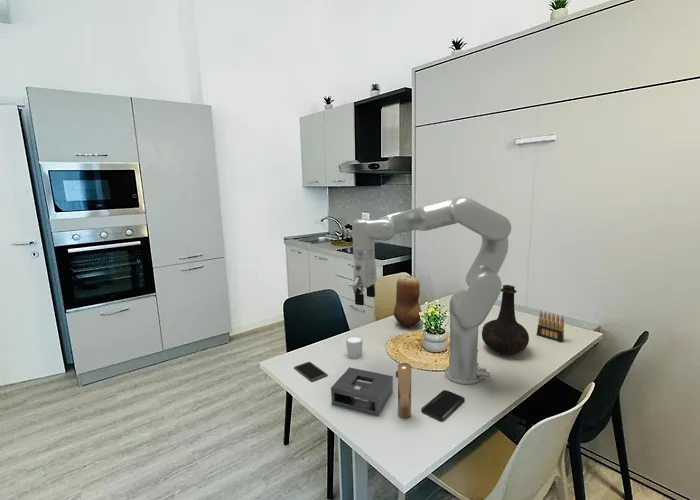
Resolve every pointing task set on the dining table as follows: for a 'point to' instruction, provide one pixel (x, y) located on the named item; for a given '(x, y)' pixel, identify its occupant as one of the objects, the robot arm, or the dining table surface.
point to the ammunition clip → (551, 327)
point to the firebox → (362, 391)
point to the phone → (443, 405)
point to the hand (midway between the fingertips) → (365, 300)
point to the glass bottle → (505, 328)
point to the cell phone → (310, 371)
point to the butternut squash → (407, 301)
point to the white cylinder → (354, 347)
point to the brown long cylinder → (404, 390)
